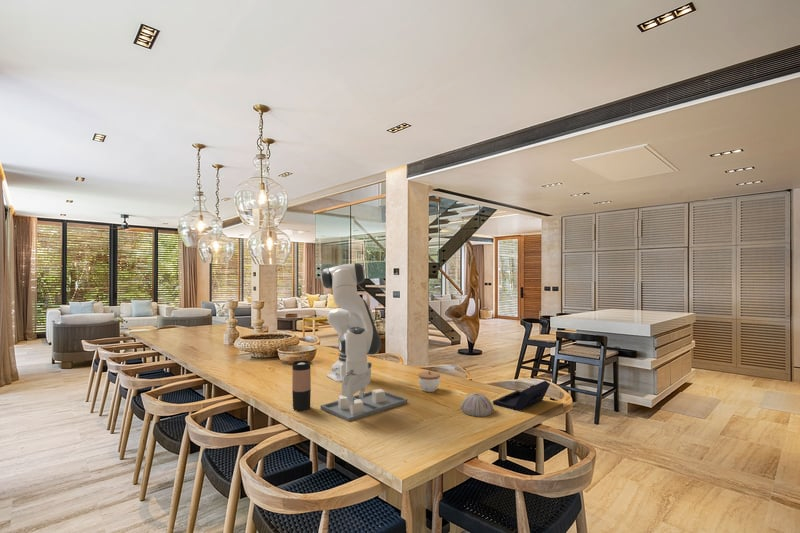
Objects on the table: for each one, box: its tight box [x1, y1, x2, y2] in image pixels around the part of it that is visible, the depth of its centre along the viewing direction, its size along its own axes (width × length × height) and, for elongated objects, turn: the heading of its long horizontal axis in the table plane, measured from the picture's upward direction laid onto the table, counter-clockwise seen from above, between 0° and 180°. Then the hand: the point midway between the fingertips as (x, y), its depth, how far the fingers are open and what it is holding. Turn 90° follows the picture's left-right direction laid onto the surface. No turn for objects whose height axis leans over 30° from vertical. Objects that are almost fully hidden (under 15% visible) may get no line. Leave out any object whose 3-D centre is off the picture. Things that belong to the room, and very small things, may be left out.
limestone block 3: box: [371, 388, 386, 403], centre depth 178 cm, size 4×4×4 cm
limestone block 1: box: [337, 394, 350, 410], centre depth 170 cm, size 4×4×4 cm
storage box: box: [492, 380, 551, 412], centre depth 175 cm, size 21×16×10 cm
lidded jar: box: [417, 370, 441, 393], centre depth 197 cm, size 11×11×9 cm
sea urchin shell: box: [460, 393, 494, 417], centre depth 165 cm, size 13×14×8 cm
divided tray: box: [320, 390, 408, 423], centre depth 173 cm, size 20×32×2 cm, turn 133°
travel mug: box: [291, 360, 312, 412], centre depth 171 cm, size 8×8×20 cm
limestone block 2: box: [350, 399, 363, 415], centre depth 164 cm, size 4×4×4 cm
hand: (356, 400), depth 164 cm, fingers open, 8 cm apart
